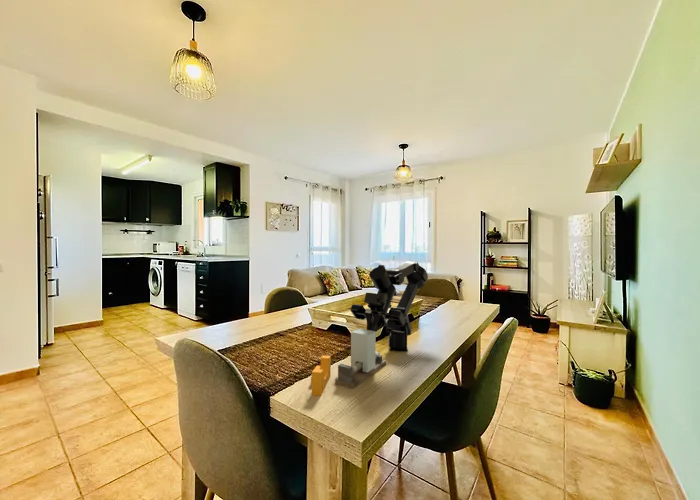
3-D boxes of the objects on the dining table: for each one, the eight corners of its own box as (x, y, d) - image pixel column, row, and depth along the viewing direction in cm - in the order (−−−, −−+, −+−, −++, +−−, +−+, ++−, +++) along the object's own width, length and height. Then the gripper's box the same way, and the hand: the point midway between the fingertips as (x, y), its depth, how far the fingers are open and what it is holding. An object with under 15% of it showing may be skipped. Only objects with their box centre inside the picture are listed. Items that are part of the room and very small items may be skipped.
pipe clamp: (316, 375, 93) (316, 355, 93) (330, 376, 92) (330, 355, 92) (305, 395, 81) (305, 371, 81) (321, 396, 80) (321, 372, 80)
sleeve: (359, 362, 99) (359, 328, 98) (375, 367, 95) (375, 331, 95) (350, 368, 94) (351, 332, 94) (367, 372, 91) (367, 335, 91)
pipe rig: (370, 360, 105) (371, 344, 105) (386, 364, 102) (386, 348, 102) (335, 383, 88) (335, 364, 88) (352, 388, 84) (352, 369, 84)
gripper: (353, 281, 106) (334, 318, 97) (402, 285, 96) (386, 327, 87) (364, 300, 113) (347, 336, 104) (411, 306, 103) (397, 347, 94)
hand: (367, 336), depth 97 cm, fingers closed, pressing on sleeve
